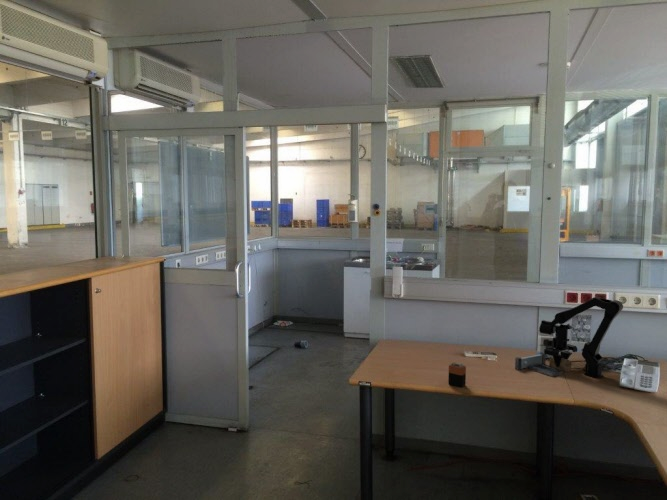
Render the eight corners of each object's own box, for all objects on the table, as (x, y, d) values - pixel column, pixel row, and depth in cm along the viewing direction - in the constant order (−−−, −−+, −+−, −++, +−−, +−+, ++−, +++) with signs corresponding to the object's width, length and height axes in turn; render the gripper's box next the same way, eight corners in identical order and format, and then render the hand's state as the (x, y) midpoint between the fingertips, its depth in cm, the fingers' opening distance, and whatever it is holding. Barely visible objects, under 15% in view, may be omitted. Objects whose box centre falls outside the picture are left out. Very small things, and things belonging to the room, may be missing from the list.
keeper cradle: (563, 374, 249) (563, 371, 248) (552, 376, 245) (552, 373, 245) (538, 366, 261) (538, 363, 261) (527, 368, 257) (528, 365, 257)
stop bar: (571, 370, 254) (571, 360, 254) (566, 371, 253) (566, 361, 252) (554, 365, 263) (554, 355, 263) (549, 366, 262) (549, 356, 261)
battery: (452, 382, 236) (452, 361, 236) (465, 385, 232) (466, 364, 231) (447, 384, 233) (448, 363, 232) (461, 387, 229) (462, 366, 228)
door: (539, 363, 265) (539, 354, 265) (543, 364, 263) (544, 355, 262) (518, 367, 257) (519, 358, 257) (522, 369, 255) (523, 359, 255)
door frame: (542, 363, 266) (542, 352, 266) (545, 364, 265) (545, 353, 264) (515, 369, 257) (515, 357, 256) (518, 370, 255) (518, 358, 254)
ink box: (539, 358, 276) (540, 331, 275) (537, 355, 281) (537, 329, 280) (555, 358, 275) (557, 332, 274) (552, 356, 280) (553, 329, 279)
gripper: (559, 331, 268) (558, 359, 269) (535, 335, 259) (534, 364, 261) (578, 335, 259) (577, 365, 260) (554, 339, 250) (553, 370, 251)
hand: (560, 366), depth 258 cm, fingers closed on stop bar, 4 cm apart
